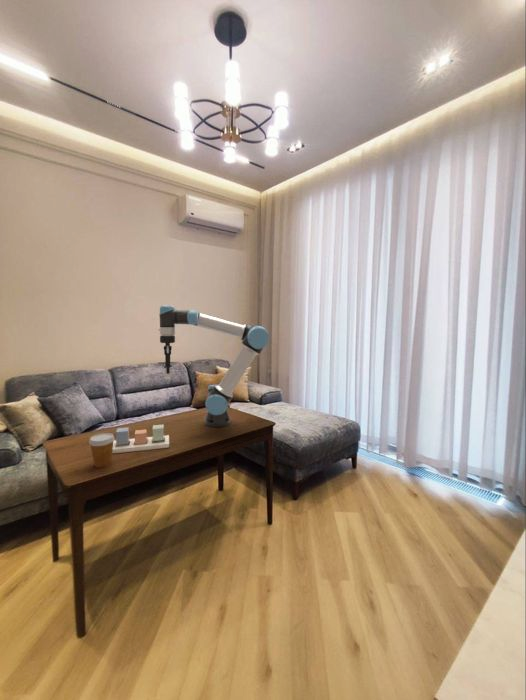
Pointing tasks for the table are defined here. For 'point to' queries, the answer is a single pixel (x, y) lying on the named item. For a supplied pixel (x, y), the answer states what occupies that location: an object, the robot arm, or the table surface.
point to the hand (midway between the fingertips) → (168, 379)
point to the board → (148, 446)
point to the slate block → (122, 435)
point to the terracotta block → (140, 437)
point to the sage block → (158, 432)
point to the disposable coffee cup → (102, 449)
